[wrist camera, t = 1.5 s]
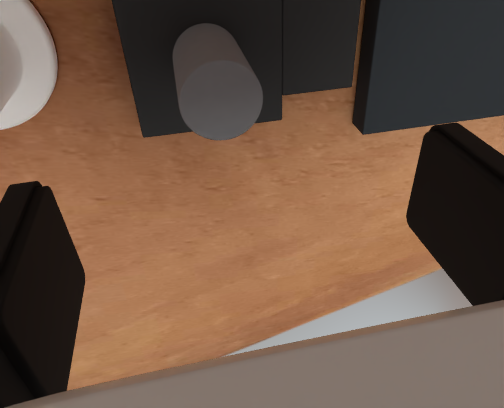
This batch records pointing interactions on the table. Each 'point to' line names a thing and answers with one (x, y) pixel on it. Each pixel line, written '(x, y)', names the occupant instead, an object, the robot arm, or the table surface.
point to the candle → (24, 62)
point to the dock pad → (429, 63)
